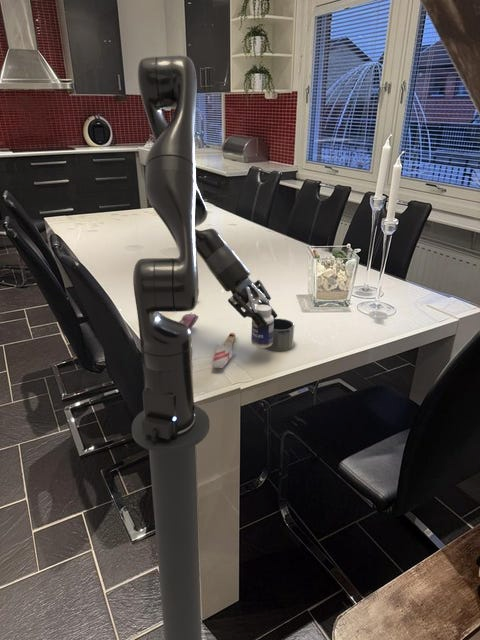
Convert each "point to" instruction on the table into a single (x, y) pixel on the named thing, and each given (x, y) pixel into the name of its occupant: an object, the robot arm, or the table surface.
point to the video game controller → (189, 320)
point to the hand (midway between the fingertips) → (269, 322)
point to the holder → (282, 335)
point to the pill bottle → (265, 334)
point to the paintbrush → (223, 352)
